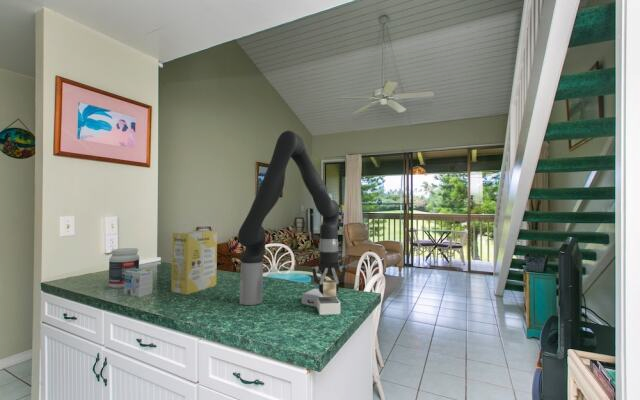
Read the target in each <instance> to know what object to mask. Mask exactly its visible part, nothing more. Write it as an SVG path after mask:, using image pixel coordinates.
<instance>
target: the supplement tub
mask: <svg viewBox="0 0 640 400" xmlns="http://www.w3.org/2000/svg"><path fill="white" fill-rule="evenodd" d="M138 252H139V249H138V248H135V247H124V248H123V247H122V248H115V249H112V250H111V251H110V254H111V256H110V257H109V259H108V260H109V261H108V286H109V287H110V288H113V289H124V282H125V271H128V270H133V269H140V255H139V254H138Z"/></svg>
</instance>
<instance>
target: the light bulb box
mask: <svg viewBox="0 0 640 400" xmlns="http://www.w3.org/2000/svg"><path fill="white" fill-rule="evenodd" d="M153 280H154V270H152V269H143V268H139V269H133V270H128V271H125V282H124V288H123V294H124V295H127V296H130V297H131V296H132V297H137V298H140V297H144V296H148V295H151V294H153V285H154V284H153V283H154V282H153Z"/></svg>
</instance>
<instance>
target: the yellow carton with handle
mask: <svg viewBox="0 0 640 400" xmlns="http://www.w3.org/2000/svg"><path fill="white" fill-rule="evenodd" d="M171 238H172V239H171V241H172V244H171V287H170V288H171V293H177V294H182V295H190V294H193V293H196V292H199V291H203V290H206V289H208V288H209V289H210V288H212V287H215V285H216V286H217V272H218V271H217V262H218V254H217V253H218V230H217V231H216V230H203V229H202V230H192V231H190V230H189V231H179V232H172V237H171Z"/></svg>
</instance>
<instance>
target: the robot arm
mask: <svg viewBox="0 0 640 400" xmlns="http://www.w3.org/2000/svg"><path fill="white" fill-rule="evenodd" d="M273 149H274V150H273V153H272V156H271V159H270V162H269V164H268V166H267V169H266V172H265V174H264V176H263V178H262V180H261V183H260V185H259V187H258V191H257V192H256V196H255V198H254V200H253V202H252V204H251V207H250V210H249V212H248V213H247V216H246V217H245V219H244V221H243V223H242V225H241V227H239V231H238V233H237V239H238V242H239V244H240V245H241V246H243V247H245V249H244V252H243V253H242V254H241V256H240V281H239V305H245V306H255V305H259V304H261V303H263V297H264V296H263V293H264V292H263V291H264V290H263V289H264V288H263V286H264V285H263V284H264V279H263V278H264V257H265V253H266V231H265V228H264V227H263V223H264V220H265V218H266V217H267V216H268V214H269V213H271V211H272V209H273V208H274V206H276V205H277V202H278V201H279V198H280V197H281V194H282V192H283V190H284V187H285V180H286V170H287V166H288V163H289V161H290V159H292V160H293V161H294V163H295V164H296V166H297V168H298V170H299V172H300V175H301V178H302V181H303V183H304V185H305V188H306V189H307V191H308V193H309V194H310V196H311V197H312V199H313V203H314V205H315V208H316V209H317V210H316V211H317V212H318V214H320V216H322V224H321V225H320V227H319V228H320V229H319V230H320V231H319V237H320V238H319V244H318V245H319V247H318V249H319V257H318V259H319V261H318V262H319V264H318V265H317V266H312V267H311V273H312V277H313V280H314V282H315V283H316V284H318V289H319V292H321V294H323V281H325V278H326V277H332V278H333V280H334V281H335V283H336V294H337V293H338V292H339V290H340V289H339V286H340V285H339V284H340V283H343V282H344V280H345V276H346V271H347V268H346V267H345V266H344V265H340V264H339V240H338V239H339V238H338V236H339V231H338V227H339V221H340V220H339V219H340V213H341V212H340V205H339V203H338V202H337V201H336V200H333V199H332V198H331V197H330V195H329V193H328V188H327V186H326V184H325V182H324V181H323V179H322V177H321V175H320V174H319V172H318V171H317V169H316V167H315V166H314V163H313V162H312V160H311V157H310V155H309V153H308V150H307V147H306V145H305V144H304V140H303V139H302V137H300V135H298V134H296V133H295V132H294V131H292V130H285V131H283V132H282V133H280V135H279V136H278V137H277V140H276V143H275V147H274V148H273ZM338 270H339V271H340V275H339V278H338V275H337V273H338ZM318 271H320V273H321V274H320V277H319V278H318V275H317V273H318Z"/></svg>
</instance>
